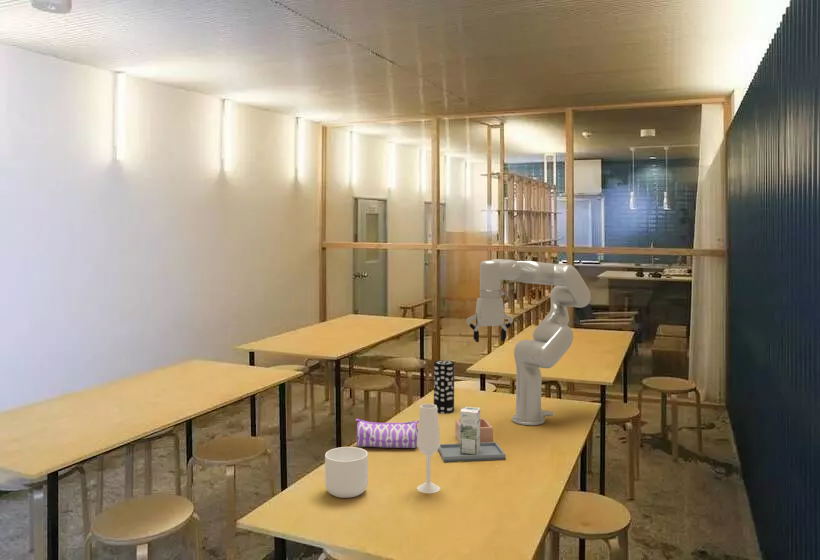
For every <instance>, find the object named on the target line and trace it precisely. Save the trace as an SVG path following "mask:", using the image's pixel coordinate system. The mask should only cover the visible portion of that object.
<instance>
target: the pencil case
mask: <svg viewBox="0 0 820 560" xmlns="http://www.w3.org/2000/svg"><path fill="white" fill-rule="evenodd" d="M355 422H357V425H356V445H357V446H358V448H361V447H365V448H366V447H369V448H370V447H371V448H372V447H373V448H388V449H389V448H391V449H393V448H395V449H396V448H397V449H398V448H399V449H416V448H418V446H417V436H418V425H419V419H418V420H416V421H415V420H410V421H405V422H372V421H367V420H364V419H359V418H356V419H355Z"/></svg>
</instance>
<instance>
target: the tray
mask: <svg viewBox="0 0 820 560" xmlns="http://www.w3.org/2000/svg"><path fill="white" fill-rule="evenodd" d="M438 450H439V451H438ZM438 450H437V451H438V453H439V452H440V453H439V455H440V454H441V455H440V457H441V459H442V461H443V463H458V461H464V462H480V461H481V462H484V461H503V460H504V461H506V456H507V455H506V452H505V451H504V450H503V449H502V448H501V446H500V445H499V443H497V441H493V442H485V443H480V451H479V452H478V454H477V455H470V454H461V453H460V443H440V447H439V449H438Z"/></svg>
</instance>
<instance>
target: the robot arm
mask: <svg viewBox="0 0 820 560" xmlns="http://www.w3.org/2000/svg"><path fill="white" fill-rule="evenodd" d="M502 280H503V281H512V282H518V283H519V282H520V283H524V284H536V285H545V286H553V288H552V289H551V290H550V310H549V312H548V314H547V315H546V316H545V317H544V318H543V319H542V321H540V323H538V325H537V326H536V327H535V329H534V330H533V333H532V339H522V340H519V341H518V342H516V344H515V347H514V351H513V355H514V356H513V357H514V361H515V370H516V372H515V373H516V377H515V378H516V382H515V384H516V385H515V386H516V387H515V388H516V390H515V393H516V394H515V395H516V396H515V397H516V398H515V414H514V415H512V417H511V420H512V422H513V423H515V424H518V425H523V426H540V425H542V424H545V422H546V419H545V418H546V417H554V411H553V410H552V411H551V410H550V411H548V410H546V409H545V410H543V409H542V381H543V379H542V372H541V369H551V368H552V367H554V366H555V365H556V364H557V363H558V362H559V361H560V360H561V359H562V357H563V356H564V355H565V353H567V351H568V350H569V349H570V348H571V346H572V344H573V341H574V332H573V330H572V328H571V327H570V326H568V324H569V322H570V316H569V312H568V311H569V310H568V307H570V308H571V307H572V308H579V309H580V308H585V307H587V306H588V305H589V304H590V302H591V292H590V289H589V288H588V286H587V284H586V282H585V280H584V279H583V277H582V276H581V274H580V272H579V271H578V270H577V268H576V267H574V265H571V264H563V263H561V264H560V263H553V262H552V263H551V262H541V261H536V260H535V261H534V260H514V259H503V258H502V259H501V258H493V259H490V260H482V261H480V263H479V297H477V299H476V304H475V314H473V315H470V316H469V317H467V318H466V323H467V324H468V326H469V327H470V329H472V331H473V340H474V341H475V342H476V343H480V332H479V330H480V328H481V327H500V328H501V330H500V341H501V342H506V339H507V331H508V329H509V328H511V326H512V324H513V322H514V318H513V317H512V316H509V315H508V314H505V308H504V307H505V306H504V300H503V298H502V296H505V293H506V292H505V291H503V290H502V289H501V287H502V283H501V281H502ZM505 319H507V322H506V324H505V321H506V320H505ZM473 320H474V322H475V324H473Z"/></svg>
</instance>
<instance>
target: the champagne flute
mask: <svg viewBox="0 0 820 560" xmlns="http://www.w3.org/2000/svg"><path fill="white" fill-rule="evenodd" d="M419 407H420V408H419V415H418V416H419V417H418V420H419V422H418V424H417V429H418V436H417V449H418V450H419V452H421V453H422V454H423V455H425V456H426V457H425V458H426V478H425V479H426V481H425V482H424V483H422V484H420V485H418V486H417V487H416V489H418V490H417V492H420V493H423V494H435V493H437V492H439V491H440V490H441V487H440V486H439V485H437V484H435V483H433V482H432V480H431V472H432V471H431V461H432V460H431V459H432V457H431V456H433V455H434V454H435V453H436V452H437V451H438V449H439V447H440V444H441V437H440V427H439V426H440V424H439V423H440V422H439V413H438V412H437V405H434V403H423V404H420V406H419Z"/></svg>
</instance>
